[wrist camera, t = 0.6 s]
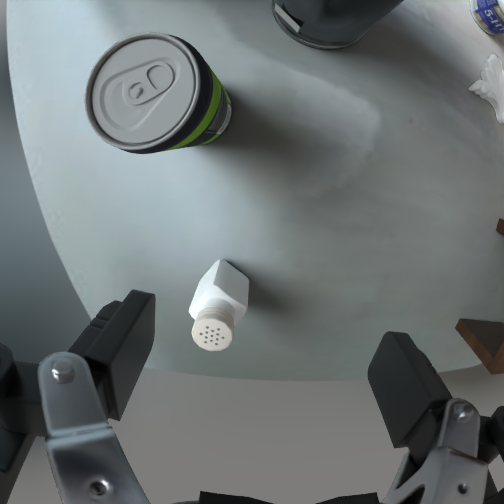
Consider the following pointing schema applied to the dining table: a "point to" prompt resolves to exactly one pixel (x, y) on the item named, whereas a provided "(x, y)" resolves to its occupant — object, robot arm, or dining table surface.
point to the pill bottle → (489, 15)
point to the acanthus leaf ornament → (492, 85)
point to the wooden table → (485, 336)
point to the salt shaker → (218, 306)
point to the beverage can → (155, 96)
